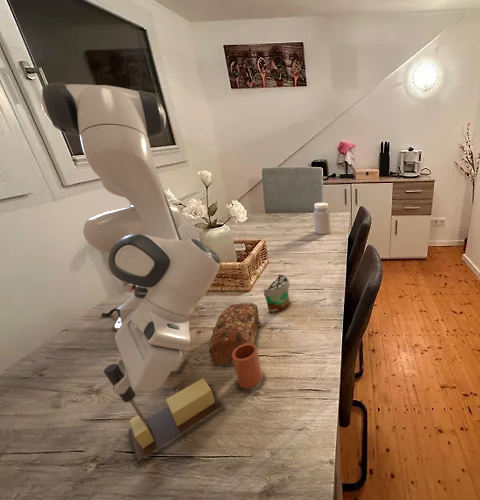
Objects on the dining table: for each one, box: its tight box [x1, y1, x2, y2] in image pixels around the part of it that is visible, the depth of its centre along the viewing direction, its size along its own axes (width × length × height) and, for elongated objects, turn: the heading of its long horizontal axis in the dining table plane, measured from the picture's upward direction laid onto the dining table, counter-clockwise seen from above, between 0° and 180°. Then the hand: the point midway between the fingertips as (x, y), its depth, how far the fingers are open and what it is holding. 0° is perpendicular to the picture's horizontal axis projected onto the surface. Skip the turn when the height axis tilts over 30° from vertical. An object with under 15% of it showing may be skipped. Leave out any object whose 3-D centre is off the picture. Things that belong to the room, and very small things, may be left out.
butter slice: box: [129, 414, 154, 448], centre depth 57 cm, size 2×5×4 cm, turn 46°
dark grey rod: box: [103, 363, 153, 435], centre depth 54 cm, size 2×2×18 cm
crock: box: [232, 343, 263, 389], centre depth 70 cm, size 6×6×10 cm
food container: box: [263, 273, 291, 314], centre depth 100 cm, size 12×6×10 cm, turn 168°
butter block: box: [165, 377, 215, 426], centre depth 63 cm, size 8×5×4 cm, turn 135°
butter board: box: [128, 394, 222, 462], centre depth 62 cm, size 16×9×1 cm, turn 135°
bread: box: [208, 302, 260, 366], centre depth 83 cm, size 19×11×10 cm, turn 9°
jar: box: [313, 202, 331, 235], centre depth 171 cm, size 10×10×18 cm
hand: (116, 386), depth 52 cm, fingers closed on dark grey rod, 2 cm apart
